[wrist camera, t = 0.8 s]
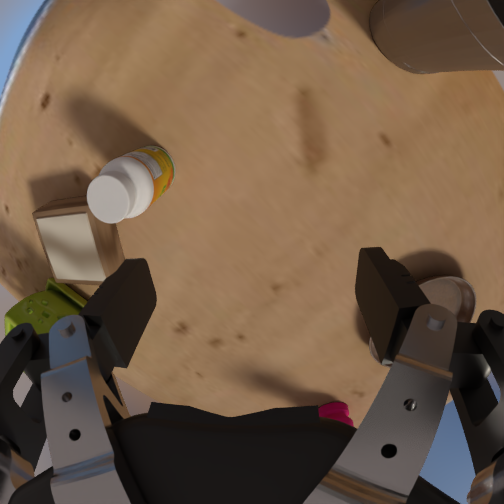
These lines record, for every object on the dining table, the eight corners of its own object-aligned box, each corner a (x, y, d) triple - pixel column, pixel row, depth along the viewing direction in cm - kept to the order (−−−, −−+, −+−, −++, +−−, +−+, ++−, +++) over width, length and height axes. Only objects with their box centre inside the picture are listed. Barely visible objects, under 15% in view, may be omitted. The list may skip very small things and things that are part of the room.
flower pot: (124, 313, 38) (87, 380, 27) (102, 355, 44) (75, 410, 33) (51, 261, 35) (0, 314, 23) (42, 312, 40) (6, 360, 29)
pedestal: (50, 201, 30) (30, 213, 26) (108, 192, 29) (89, 205, 25) (70, 266, 35) (55, 283, 31) (127, 267, 34) (113, 287, 30)
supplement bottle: (150, 203, 30) (108, 244, 21) (121, 166, 28) (69, 195, 19) (186, 174, 28) (151, 207, 19) (155, 134, 26) (107, 151, 17)
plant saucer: (429, 358, 40) (435, 370, 38) (345, 351, 39) (348, 366, 37) (484, 276, 32) (494, 287, 29) (400, 251, 31) (410, 264, 28)
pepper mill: (350, 397, 45) (364, 494, 28) (350, 413, 49) (362, 500, 31) (311, 404, 47) (317, 502, 29) (316, 420, 50) (321, 507, 32)
